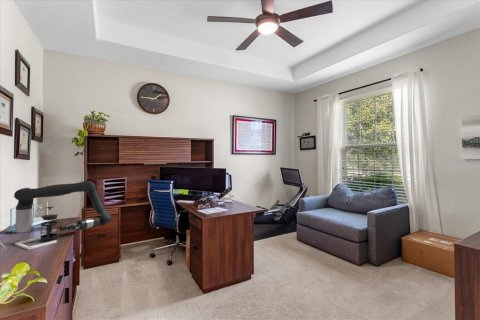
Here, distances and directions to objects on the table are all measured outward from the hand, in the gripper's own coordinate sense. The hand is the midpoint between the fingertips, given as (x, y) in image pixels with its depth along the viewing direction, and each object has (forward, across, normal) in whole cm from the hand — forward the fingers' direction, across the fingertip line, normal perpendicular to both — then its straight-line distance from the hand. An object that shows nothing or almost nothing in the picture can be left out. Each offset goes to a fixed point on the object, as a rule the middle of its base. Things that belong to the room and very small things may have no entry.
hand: (59, 229), depth 165 cm
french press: (+6, 0, +6) cm, 8 cm away
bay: (+13, 0, +6) cm, 15 cm away
